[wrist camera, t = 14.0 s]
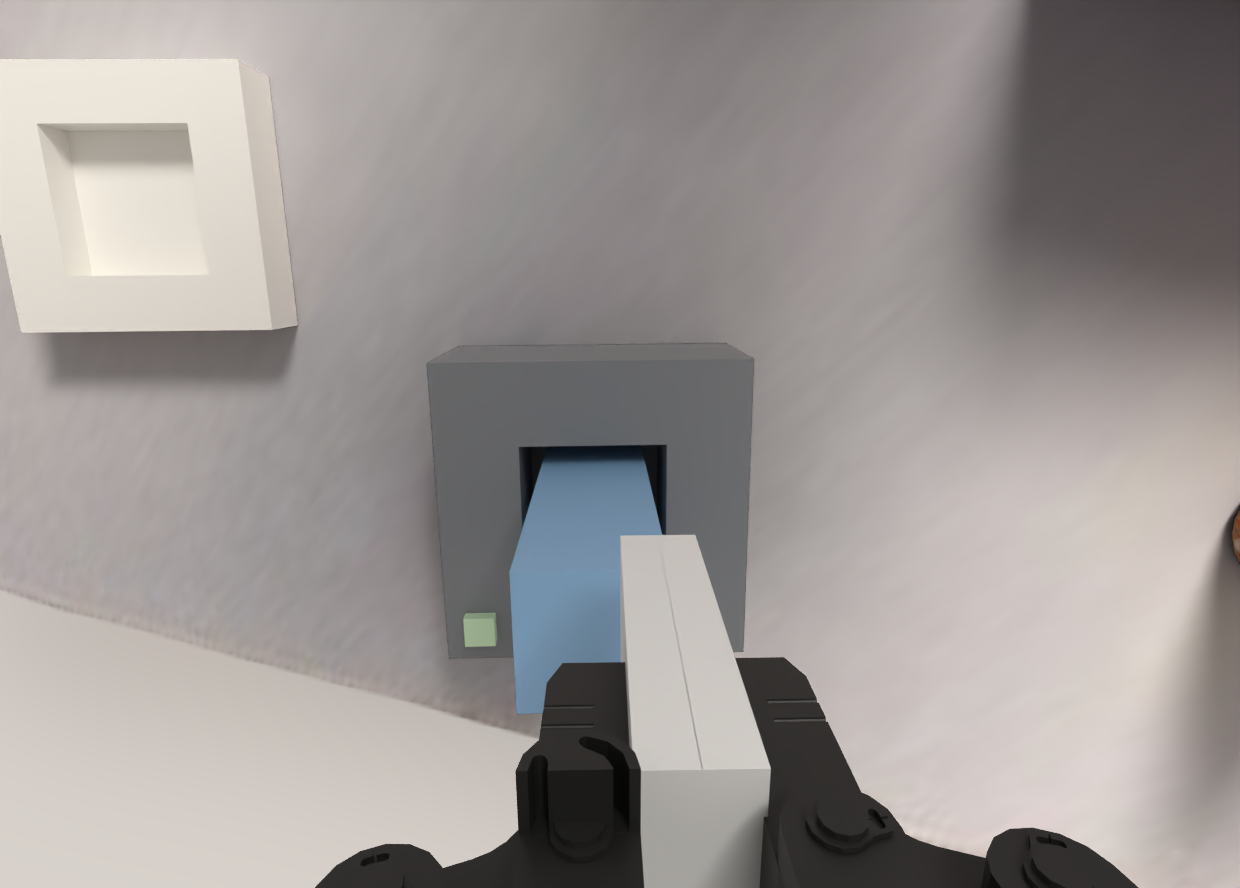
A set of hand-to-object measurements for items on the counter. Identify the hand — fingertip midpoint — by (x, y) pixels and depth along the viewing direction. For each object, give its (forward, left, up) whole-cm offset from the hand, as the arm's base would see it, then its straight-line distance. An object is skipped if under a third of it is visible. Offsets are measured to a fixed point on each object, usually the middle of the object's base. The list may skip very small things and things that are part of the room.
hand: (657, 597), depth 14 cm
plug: (+3, -1, -17) cm, 17 cm away
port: (+3, -1, -19) cm, 19 cm away
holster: (-9, -19, -19) cm, 29 cm away
